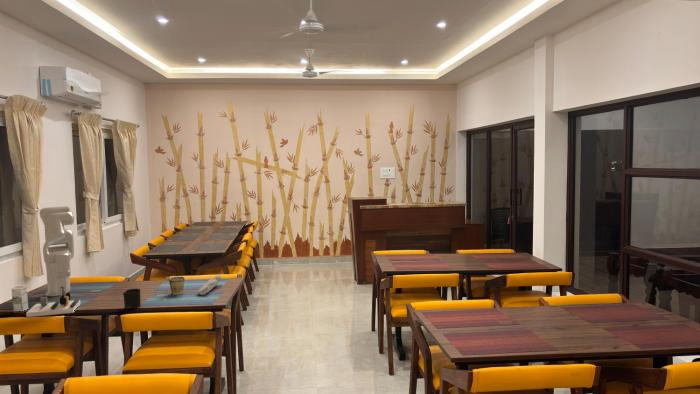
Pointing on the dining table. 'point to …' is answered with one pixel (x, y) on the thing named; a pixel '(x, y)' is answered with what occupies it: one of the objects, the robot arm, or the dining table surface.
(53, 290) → the robot arm
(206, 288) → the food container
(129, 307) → the pen holder
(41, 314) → the breaker panel
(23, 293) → the syrup box
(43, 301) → the on breaker
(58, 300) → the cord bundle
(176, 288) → the ceramic cup
